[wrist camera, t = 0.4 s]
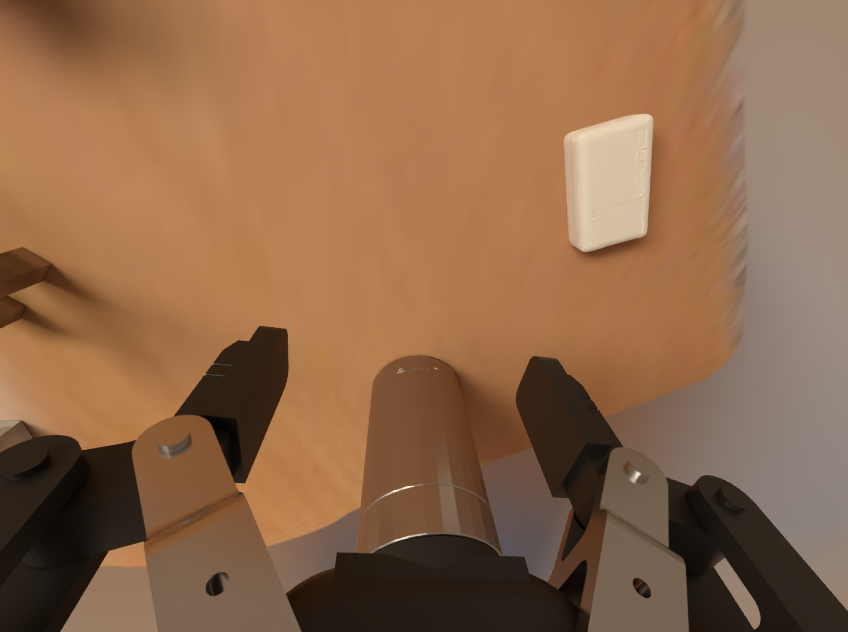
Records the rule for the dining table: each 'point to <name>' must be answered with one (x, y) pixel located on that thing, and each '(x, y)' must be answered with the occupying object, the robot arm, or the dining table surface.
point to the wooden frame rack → (18, 280)
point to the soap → (608, 181)
